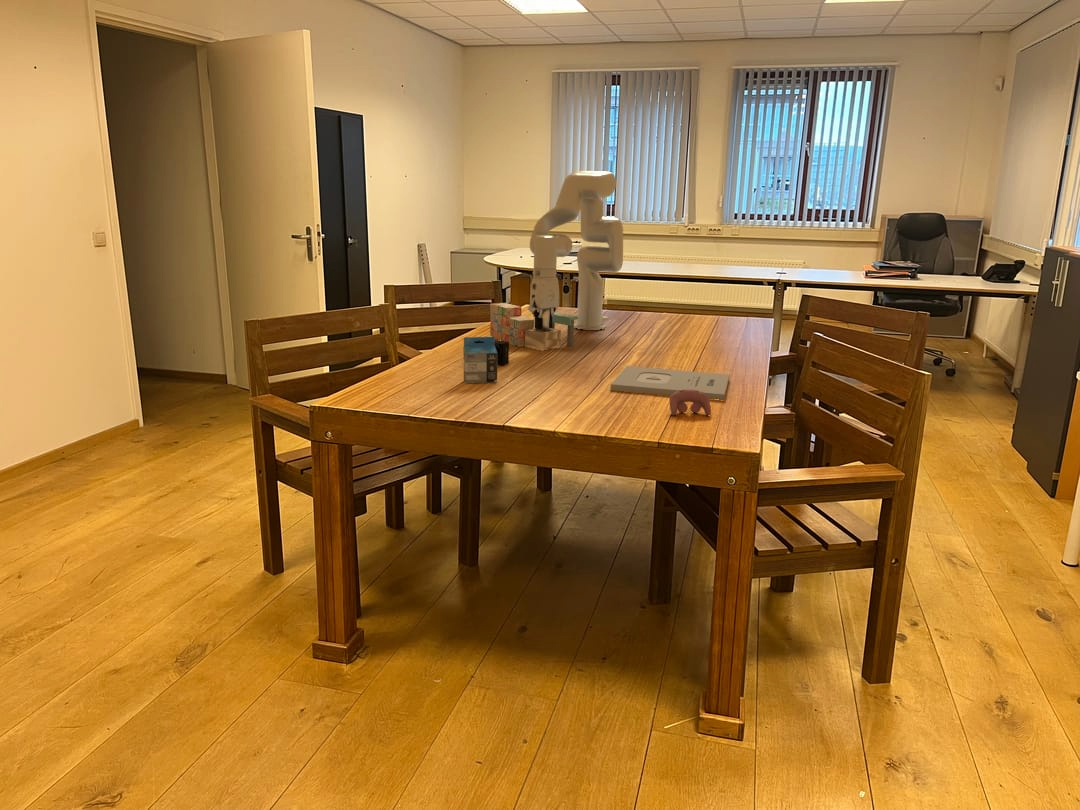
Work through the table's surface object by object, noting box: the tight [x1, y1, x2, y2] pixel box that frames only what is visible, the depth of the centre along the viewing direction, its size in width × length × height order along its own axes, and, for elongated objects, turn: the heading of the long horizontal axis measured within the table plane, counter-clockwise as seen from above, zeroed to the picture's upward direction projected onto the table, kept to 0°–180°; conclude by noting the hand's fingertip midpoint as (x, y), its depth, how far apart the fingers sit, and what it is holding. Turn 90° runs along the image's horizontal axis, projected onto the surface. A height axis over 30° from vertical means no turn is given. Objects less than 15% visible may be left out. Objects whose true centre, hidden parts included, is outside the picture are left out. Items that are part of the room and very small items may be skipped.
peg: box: [537, 308, 550, 332], centre depth 262 cm, size 4×4×10 cm
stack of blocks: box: [489, 302, 535, 348], centre depth 272 cm, size 21×6×12 cm, turn 30°
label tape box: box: [463, 336, 498, 384], centre depth 214 cm, size 9×4×12 cm, turn 105°
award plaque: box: [609, 365, 730, 401], centre depth 217 cm, size 25×30×2 cm
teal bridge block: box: [551, 311, 578, 346], centre depth 271 cm, size 4×12×10 cm, turn 46°
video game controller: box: [668, 390, 712, 416], centre depth 189 cm, size 10×5×7 cm, turn 93°
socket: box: [524, 327, 562, 352], centre depth 264 cm, size 9×8×6 cm
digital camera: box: [474, 339, 510, 367], centre depth 237 cm, size 10×5×7 cm, turn 67°
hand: (543, 327), depth 263 cm, fingers closed on peg, 3 cm apart
